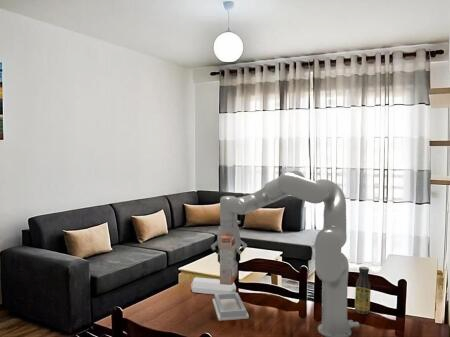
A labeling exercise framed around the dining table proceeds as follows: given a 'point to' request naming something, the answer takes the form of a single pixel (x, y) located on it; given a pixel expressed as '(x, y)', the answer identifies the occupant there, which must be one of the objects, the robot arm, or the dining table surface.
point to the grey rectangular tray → (229, 307)
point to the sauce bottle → (362, 292)
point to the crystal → (211, 286)
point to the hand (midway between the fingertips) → (229, 262)
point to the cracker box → (228, 260)
